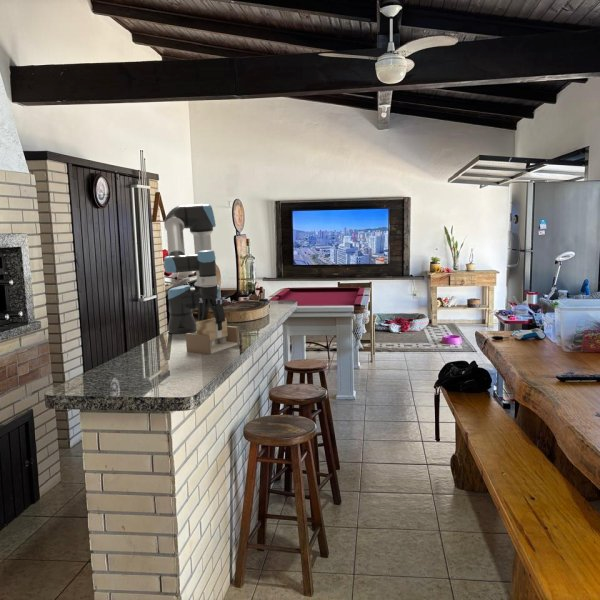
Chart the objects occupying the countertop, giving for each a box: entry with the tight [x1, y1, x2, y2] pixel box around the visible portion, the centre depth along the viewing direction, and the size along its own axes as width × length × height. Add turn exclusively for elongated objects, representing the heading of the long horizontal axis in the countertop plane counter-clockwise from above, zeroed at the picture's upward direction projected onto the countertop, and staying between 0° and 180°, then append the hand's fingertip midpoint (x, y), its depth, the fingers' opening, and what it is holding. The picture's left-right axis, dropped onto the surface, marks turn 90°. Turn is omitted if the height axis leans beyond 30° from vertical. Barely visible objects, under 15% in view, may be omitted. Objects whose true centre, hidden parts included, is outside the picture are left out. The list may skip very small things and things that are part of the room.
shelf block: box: [195, 316, 228, 341], centre depth 252 cm, size 7×12×8 cm, turn 145°
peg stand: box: [185, 325, 240, 355], centre depth 252 cm, size 13×20×8 cm, turn 145°
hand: (212, 336), depth 252 cm, fingers closed on shelf block, 7 cm apart
